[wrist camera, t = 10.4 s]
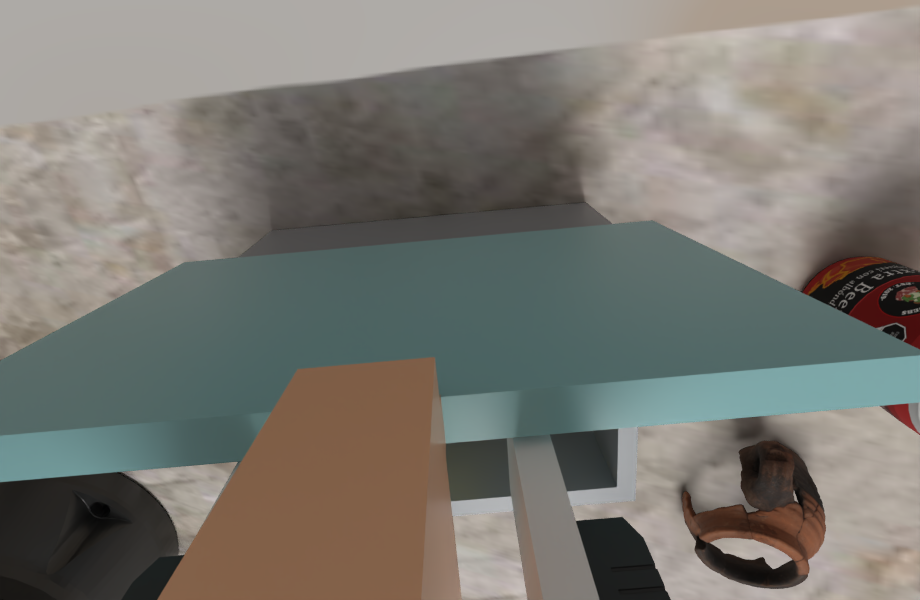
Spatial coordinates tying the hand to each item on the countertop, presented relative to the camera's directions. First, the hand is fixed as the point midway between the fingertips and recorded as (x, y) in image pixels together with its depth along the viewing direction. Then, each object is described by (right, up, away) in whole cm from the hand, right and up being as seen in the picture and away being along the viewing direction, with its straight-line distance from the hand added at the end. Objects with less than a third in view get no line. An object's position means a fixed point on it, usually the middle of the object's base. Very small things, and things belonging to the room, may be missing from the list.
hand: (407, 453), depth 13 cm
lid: (0, -4, +4) cm, 5 cm away
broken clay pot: (+23, -10, +30) cm, 39 cm away
